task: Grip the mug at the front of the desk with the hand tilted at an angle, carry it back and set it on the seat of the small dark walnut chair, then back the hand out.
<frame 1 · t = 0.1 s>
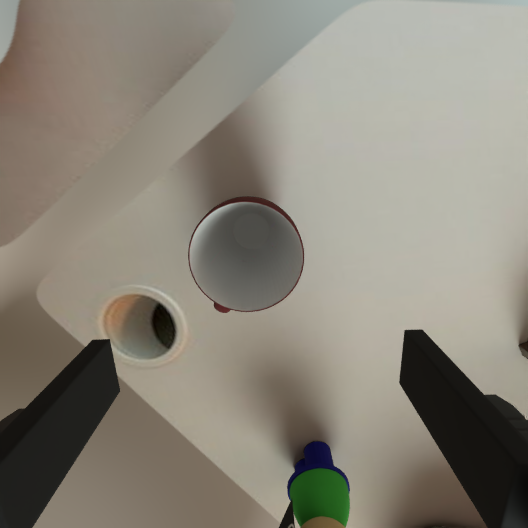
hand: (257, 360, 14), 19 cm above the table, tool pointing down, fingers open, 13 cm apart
toy: (312, 459, 41), on the table
mug: (248, 241, 32), on the table
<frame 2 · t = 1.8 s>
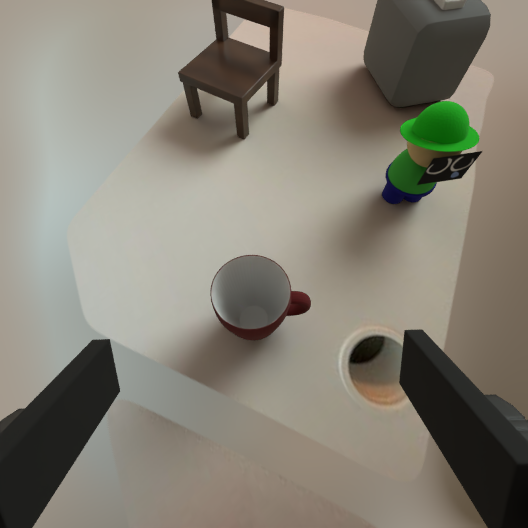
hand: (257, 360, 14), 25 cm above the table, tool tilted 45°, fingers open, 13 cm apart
toy: (401, 194, 50), on the table
alarm clock: (398, 84, 62), on the table
chair: (235, 108, 59), on the table
mug: (263, 318, 41), on the table
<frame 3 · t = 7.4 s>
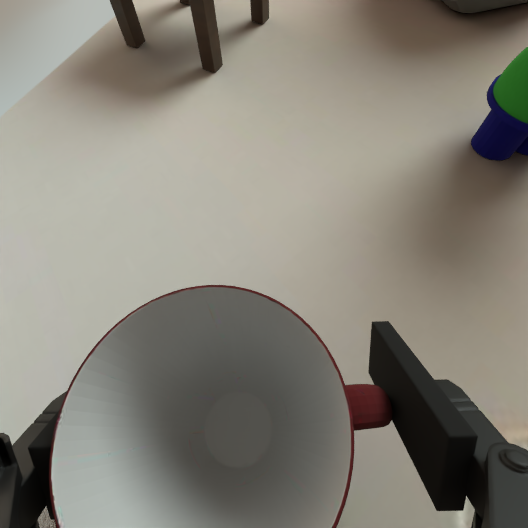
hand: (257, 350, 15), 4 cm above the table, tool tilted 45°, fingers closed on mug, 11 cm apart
toy: (507, 144, 27), on the table
chair: (199, 31, 36), on the table
mug: (261, 421, 18), on the table, touching gripper
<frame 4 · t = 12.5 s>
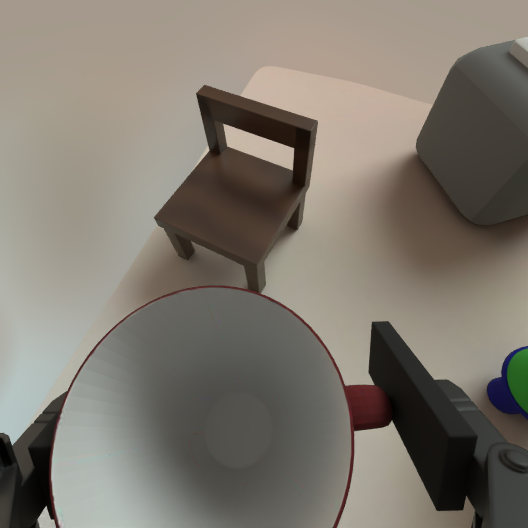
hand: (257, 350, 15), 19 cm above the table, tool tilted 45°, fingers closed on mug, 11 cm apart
toy: (518, 391, 31), on the table
alarm clock: (468, 181, 44), on the table
chair: (241, 237, 41), on the table
mug: (261, 422, 18), point 15 cm above the table, touching gripper
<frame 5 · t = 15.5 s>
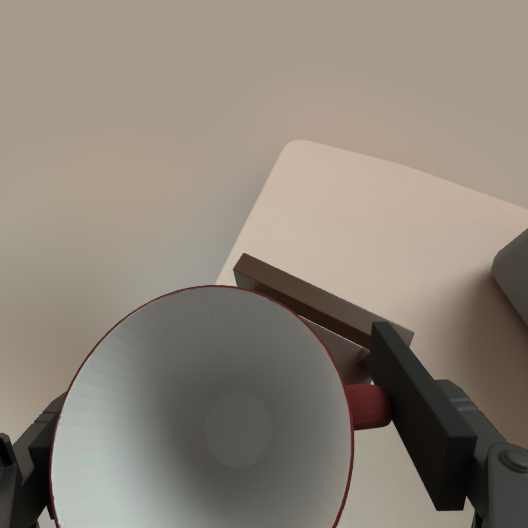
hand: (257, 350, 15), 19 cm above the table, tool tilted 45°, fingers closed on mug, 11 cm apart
chair: (278, 398, 32), on the table
mug: (261, 421, 18), point 15 cm above the table, touching gripper
when the fingers open (12 cm above the table, at t = 18.0 s): mug stays where it is, resting on chair.
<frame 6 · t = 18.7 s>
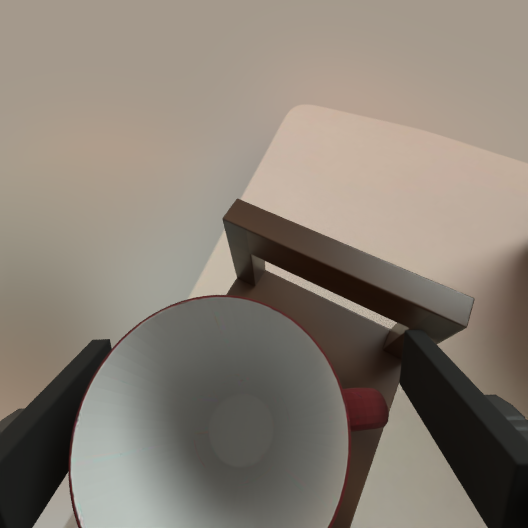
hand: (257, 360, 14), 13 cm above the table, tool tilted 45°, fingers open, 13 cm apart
chair: (281, 395, 26), on the table
mug: (263, 422, 18), point 8 cm above the table, touching chair
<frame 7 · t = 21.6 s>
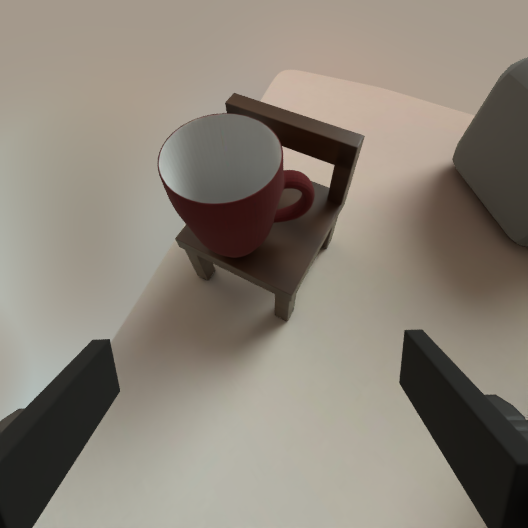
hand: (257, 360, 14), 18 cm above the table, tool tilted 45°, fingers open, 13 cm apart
alarm clock: (509, 197, 41), on the table
chair: (265, 257, 37), on the table
mug: (250, 237, 30), point 8 cm above the table, touching chair
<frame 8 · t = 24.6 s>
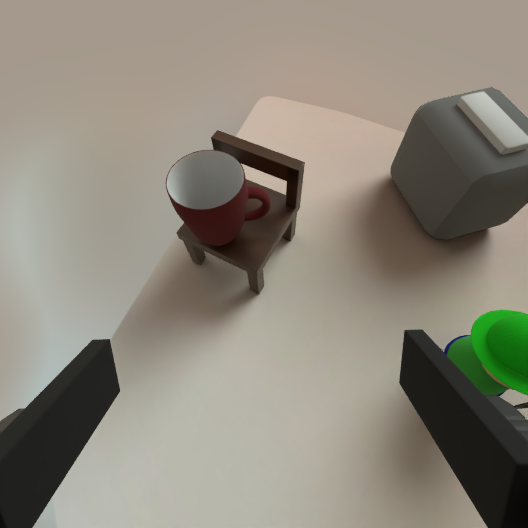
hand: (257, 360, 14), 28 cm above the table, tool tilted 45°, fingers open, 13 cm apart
toy: (459, 371, 40), on the table
alarm clock: (433, 201, 53), on the table
chair: (244, 247, 49), on the table
mug: (229, 231, 42), point 8 cm above the table, touching chair
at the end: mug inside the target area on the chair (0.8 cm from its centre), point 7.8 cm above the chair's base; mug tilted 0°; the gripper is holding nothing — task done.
